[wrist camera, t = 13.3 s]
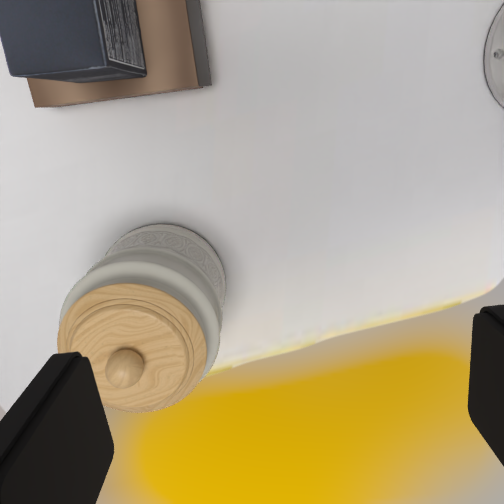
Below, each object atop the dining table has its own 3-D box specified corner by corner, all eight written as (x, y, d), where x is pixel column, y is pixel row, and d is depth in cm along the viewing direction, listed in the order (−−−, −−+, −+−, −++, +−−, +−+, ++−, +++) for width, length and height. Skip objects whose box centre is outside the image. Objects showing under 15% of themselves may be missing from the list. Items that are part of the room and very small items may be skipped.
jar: (114, 334, 47) (43, 458, 31) (96, 223, 43) (1, 297, 27) (230, 329, 47) (220, 451, 31) (222, 218, 43) (207, 289, 26)
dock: (189, -82, 35) (182, -105, 31) (213, 86, 39) (210, 84, 35) (12, -56, 35) (-16, -76, 31) (55, 107, 39) (34, 107, 36)
